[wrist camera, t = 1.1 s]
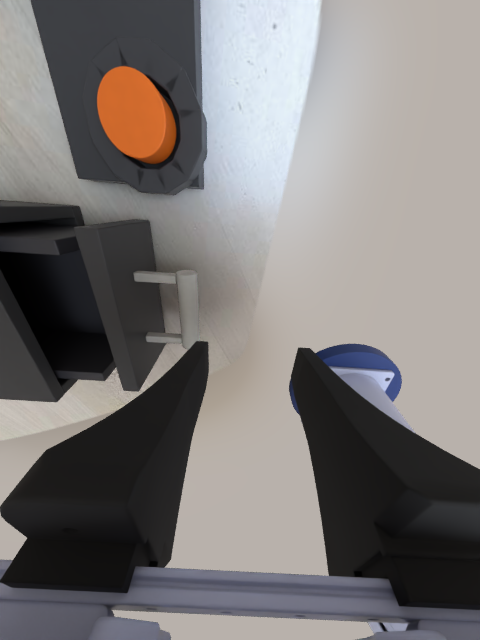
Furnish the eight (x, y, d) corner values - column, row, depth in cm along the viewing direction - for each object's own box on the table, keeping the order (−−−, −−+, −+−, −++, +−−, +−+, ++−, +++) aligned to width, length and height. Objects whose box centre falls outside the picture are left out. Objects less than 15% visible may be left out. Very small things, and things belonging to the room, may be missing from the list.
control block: (211, 198, 15) (203, 196, 12) (97, 190, 15) (60, 186, 12) (210, -46, 10) (195, -152, 7) (38, -62, 10) (-51, -176, 7)
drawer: (205, 224, 15) (183, 235, 10) (207, 345, 21) (194, 395, 16) (-32, 207, 15) (-188, 208, 10) (34, 334, 21) (-42, 381, 15)
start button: (178, 166, 12) (169, 160, 10) (124, 162, 12) (106, 155, 10) (173, 88, 10) (161, 68, 9) (110, 83, 10) (87, 62, 9)
